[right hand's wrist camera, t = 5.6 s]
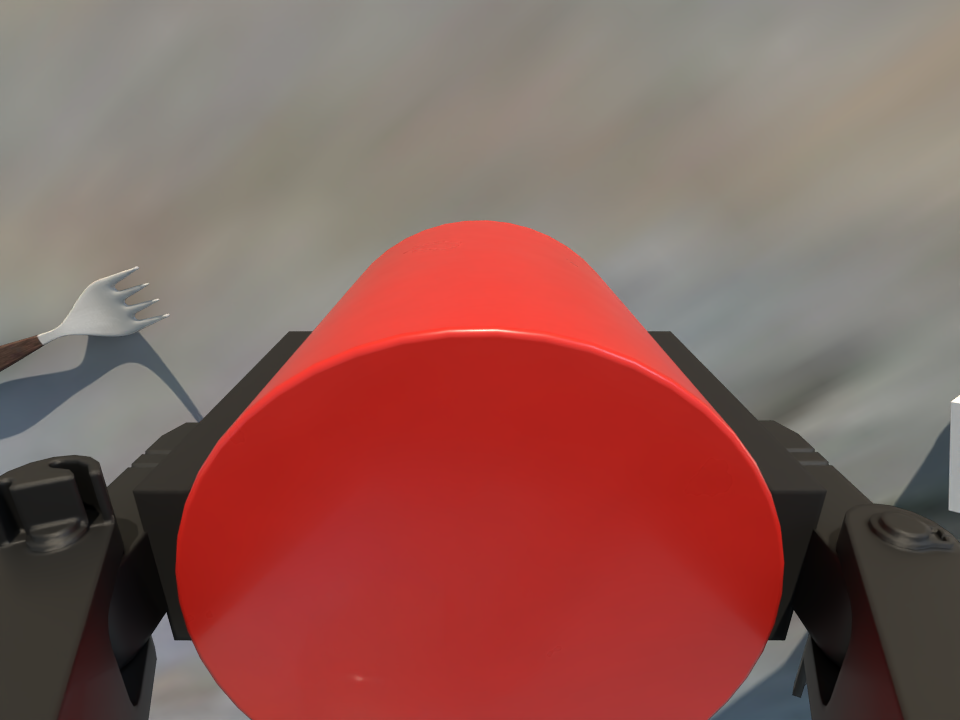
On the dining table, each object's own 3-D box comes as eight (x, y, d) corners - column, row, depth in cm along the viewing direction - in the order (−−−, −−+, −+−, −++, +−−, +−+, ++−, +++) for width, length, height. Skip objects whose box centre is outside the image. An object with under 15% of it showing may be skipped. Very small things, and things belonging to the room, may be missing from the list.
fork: (-127, 380, 26) (-174, 400, 24) (160, 252, 23) (132, 262, 22) (-86, 426, 27) (-128, 448, 25) (194, 306, 24) (171, 320, 22)
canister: (399, 162, 13) (281, 198, 5) (684, 301, 14) (924, 493, 6) (293, 431, 15) (114, 713, 8) (541, 528, 16) (593, 852, 9)
